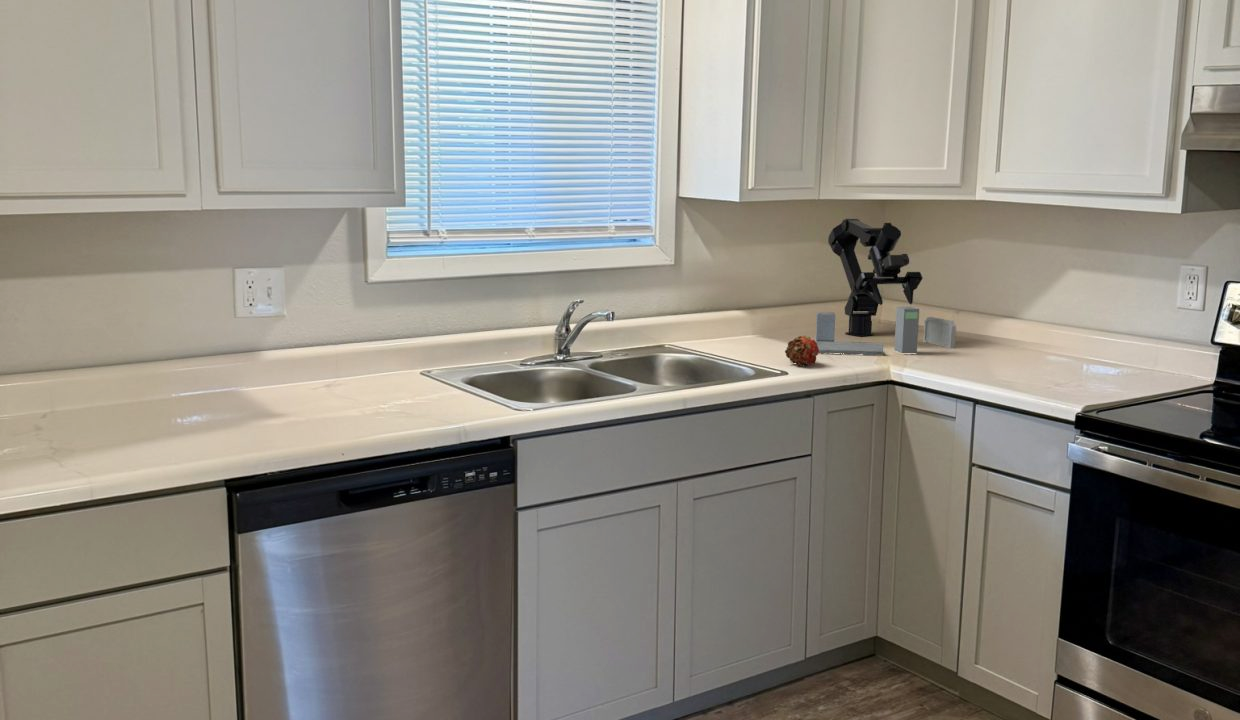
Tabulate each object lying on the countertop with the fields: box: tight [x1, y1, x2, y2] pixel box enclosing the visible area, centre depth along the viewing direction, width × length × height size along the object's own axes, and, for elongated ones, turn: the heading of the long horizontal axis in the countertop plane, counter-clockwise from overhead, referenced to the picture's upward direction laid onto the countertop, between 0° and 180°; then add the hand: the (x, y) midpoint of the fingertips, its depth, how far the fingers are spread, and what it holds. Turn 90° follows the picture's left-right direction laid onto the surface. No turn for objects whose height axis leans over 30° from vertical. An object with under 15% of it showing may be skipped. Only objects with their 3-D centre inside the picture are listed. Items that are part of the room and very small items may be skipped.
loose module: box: [893, 306, 920, 354], centre depth 311 cm, size 5×4×13 cm
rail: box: [815, 311, 884, 356], centre depth 312 cm, size 18×7×11 cm, turn 82°
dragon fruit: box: [784, 335, 819, 366], centre depth 294 cm, size 8×8×12 cm
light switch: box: [922, 316, 957, 349], centre depth 327 cm, size 2×12×8 cm, turn 25°
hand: (896, 303), depth 317 cm, fingers open, 9 cm apart
